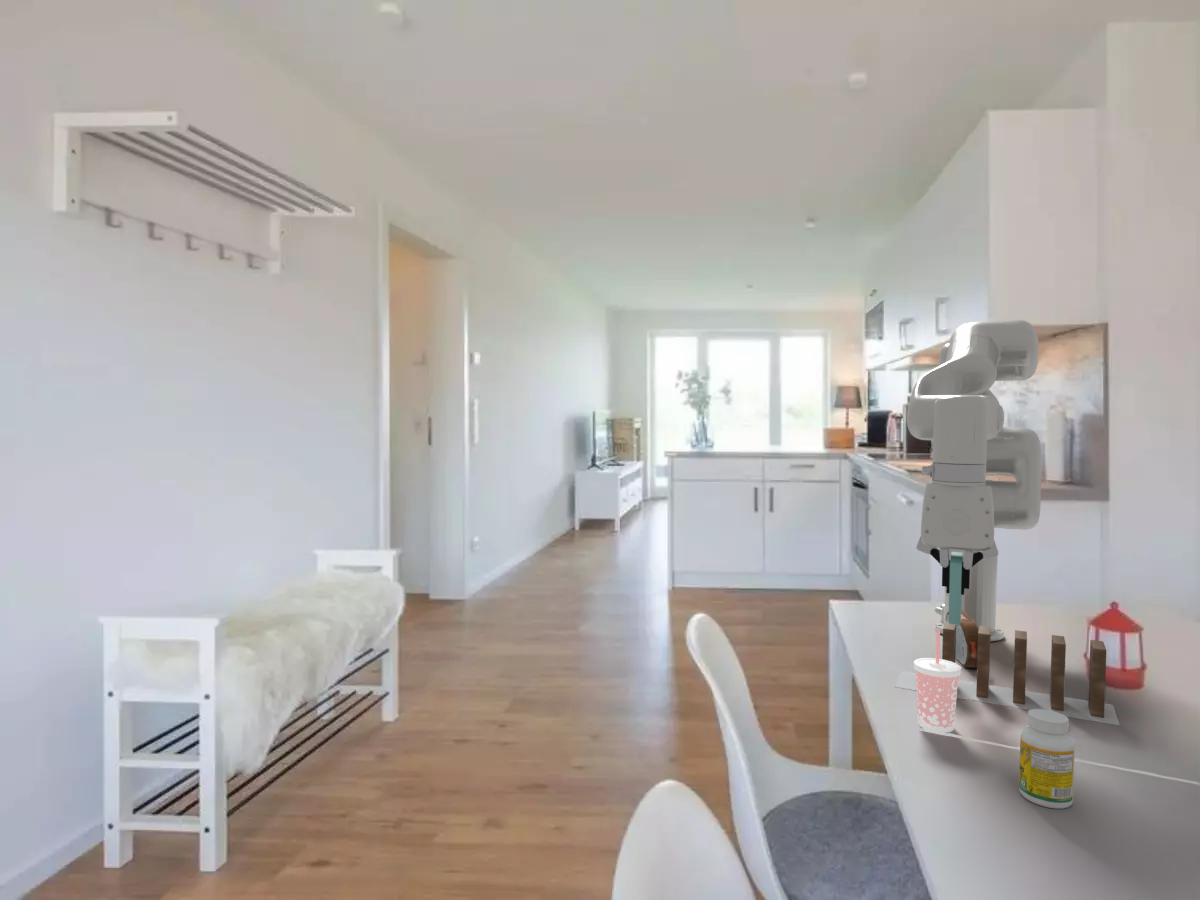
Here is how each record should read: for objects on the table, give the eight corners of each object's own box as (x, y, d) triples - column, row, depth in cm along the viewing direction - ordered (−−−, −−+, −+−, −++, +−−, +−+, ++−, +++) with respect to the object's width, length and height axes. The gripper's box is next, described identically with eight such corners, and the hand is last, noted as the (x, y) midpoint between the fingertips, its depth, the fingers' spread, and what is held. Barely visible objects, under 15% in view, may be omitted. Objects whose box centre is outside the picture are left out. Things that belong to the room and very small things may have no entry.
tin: (984, 675, 128) (985, 626, 127) (964, 674, 128) (965, 625, 128) (960, 649, 143) (961, 605, 142) (942, 648, 143) (943, 604, 143)
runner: (894, 688, 121) (894, 686, 121) (902, 672, 129) (902, 670, 129) (1119, 727, 106) (1119, 725, 106) (1112, 706, 114) (1112, 704, 114)
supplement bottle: (1068, 815, 82) (1071, 728, 82) (1013, 799, 85) (1016, 716, 85) (1076, 796, 86) (1079, 714, 86) (1023, 782, 89) (1026, 702, 89)
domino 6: (1090, 715, 109) (1093, 648, 109) (1088, 704, 114) (1090, 639, 113) (1104, 718, 109) (1106, 649, 108) (1100, 706, 113) (1103, 641, 113)
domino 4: (1012, 702, 114) (1014, 637, 114) (1013, 692, 119) (1015, 630, 118) (1024, 704, 113) (1026, 639, 113) (1024, 694, 118) (1026, 631, 117)
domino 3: (976, 696, 117) (978, 633, 116) (977, 686, 121) (979, 625, 121) (987, 698, 116) (989, 634, 116) (988, 688, 120) (990, 627, 120)
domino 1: (941, 690, 119) (942, 628, 119) (944, 681, 124) (945, 621, 123) (952, 692, 118) (954, 629, 118) (954, 683, 123) (956, 622, 122)
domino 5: (1050, 709, 112) (1053, 642, 111) (1049, 698, 116) (1051, 634, 116) (1063, 711, 111) (1065, 644, 111) (1061, 700, 115) (1064, 636, 115)
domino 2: (948, 623, 116) (949, 562, 114) (950, 610, 120) (951, 551, 118) (960, 625, 115) (961, 563, 113) (961, 611, 120) (962, 552, 118)
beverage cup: (939, 740, 101) (942, 637, 101) (902, 723, 107) (905, 626, 106) (969, 731, 104) (972, 632, 103) (931, 716, 109) (934, 621, 109)
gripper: (902, 474, 116) (899, 591, 117) (1016, 478, 109) (1012, 603, 110) (907, 471, 123) (904, 582, 124) (1014, 475, 116) (1011, 593, 117)
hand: (955, 591), depth 117 cm, fingers closed on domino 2, 1 cm apart
